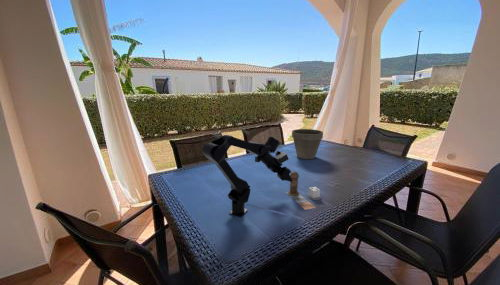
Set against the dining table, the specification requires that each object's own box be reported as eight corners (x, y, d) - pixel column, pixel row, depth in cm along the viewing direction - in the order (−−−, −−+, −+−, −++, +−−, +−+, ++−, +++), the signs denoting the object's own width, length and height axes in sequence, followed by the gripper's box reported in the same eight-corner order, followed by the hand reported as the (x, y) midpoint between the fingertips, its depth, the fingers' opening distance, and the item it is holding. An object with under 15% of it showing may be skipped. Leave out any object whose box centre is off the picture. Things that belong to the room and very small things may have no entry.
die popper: (323, 199, 115) (324, 190, 114) (311, 202, 113) (312, 192, 111) (315, 193, 121) (316, 184, 120) (304, 195, 119) (305, 186, 118)
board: (318, 208, 107) (319, 207, 106) (302, 212, 104) (302, 210, 104) (297, 190, 125) (297, 189, 125) (283, 193, 122) (283, 192, 122)
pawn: (297, 197, 117) (298, 174, 113) (287, 194, 119) (287, 172, 116) (299, 192, 121) (301, 170, 118) (289, 190, 124) (290, 169, 121)
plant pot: (298, 150, 202) (299, 127, 196) (325, 155, 188) (327, 130, 182) (285, 157, 182) (286, 132, 177) (315, 163, 168) (317, 135, 163)
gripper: (287, 153, 102) (307, 172, 108) (271, 143, 119) (288, 160, 126) (272, 171, 102) (292, 189, 108) (257, 159, 119) (275, 175, 125)
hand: (287, 177), depth 117 cm, fingers open, 9 cm apart
